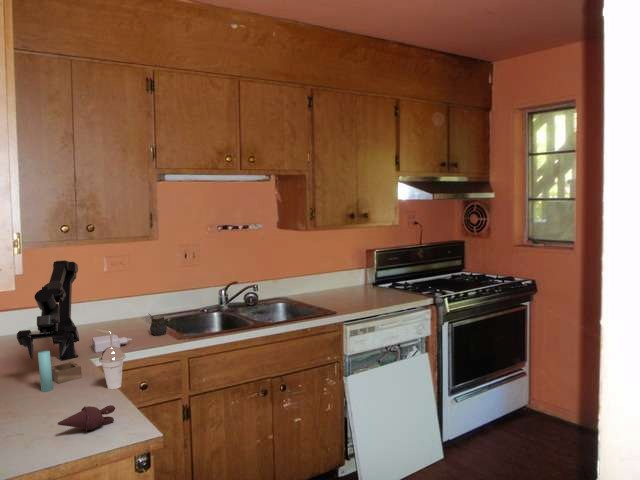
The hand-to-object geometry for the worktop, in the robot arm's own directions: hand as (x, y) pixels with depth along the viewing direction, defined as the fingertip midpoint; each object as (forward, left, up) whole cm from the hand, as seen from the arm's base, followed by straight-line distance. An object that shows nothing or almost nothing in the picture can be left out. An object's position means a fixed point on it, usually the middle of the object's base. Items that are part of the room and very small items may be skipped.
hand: (46, 357), depth 189 cm
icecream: (+44, -3, -11) cm, 45 cm away
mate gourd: (-30, +56, -10) cm, 64 cm away
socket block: (-4, +7, -10) cm, 13 cm away
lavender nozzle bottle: (-27, +34, -11) cm, 45 cm away
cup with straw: (+17, +16, -10) cm, 25 cm away
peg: (+3, -1, -10) cm, 11 cm away
